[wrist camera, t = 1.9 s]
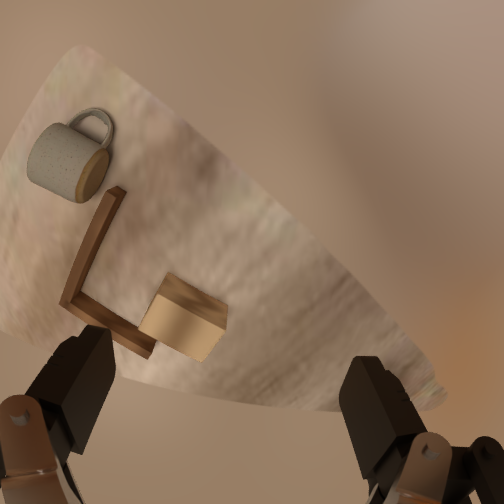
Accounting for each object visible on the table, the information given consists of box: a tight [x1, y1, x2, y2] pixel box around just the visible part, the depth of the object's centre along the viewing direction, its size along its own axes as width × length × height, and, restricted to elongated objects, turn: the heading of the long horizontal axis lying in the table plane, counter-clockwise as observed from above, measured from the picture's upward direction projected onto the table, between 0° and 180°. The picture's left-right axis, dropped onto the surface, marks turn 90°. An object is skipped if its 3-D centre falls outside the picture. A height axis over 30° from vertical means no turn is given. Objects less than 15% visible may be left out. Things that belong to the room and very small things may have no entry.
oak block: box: [138, 272, 228, 363], centre depth 38 cm, size 9×6×6 cm, turn 57°
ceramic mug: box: [27, 108, 113, 203], centre depth 30 cm, size 11×8×8 cm
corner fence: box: [59, 186, 156, 360], centre depth 38 cm, size 15×18×4 cm
